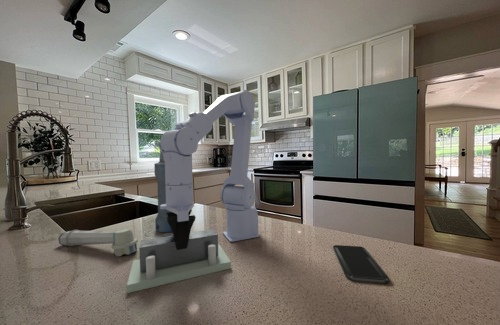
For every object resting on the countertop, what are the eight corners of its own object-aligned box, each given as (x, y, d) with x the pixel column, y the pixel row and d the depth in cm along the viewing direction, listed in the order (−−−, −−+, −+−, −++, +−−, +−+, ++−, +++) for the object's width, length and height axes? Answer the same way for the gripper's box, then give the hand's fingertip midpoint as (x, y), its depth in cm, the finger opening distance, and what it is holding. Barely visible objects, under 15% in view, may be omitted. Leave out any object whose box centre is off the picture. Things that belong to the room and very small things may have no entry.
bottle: (157, 225, 76) (154, 143, 75) (185, 222, 79) (183, 143, 78) (153, 234, 67) (150, 141, 66) (185, 230, 70) (183, 141, 69)
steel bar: (214, 248, 52) (213, 228, 51) (218, 255, 48) (217, 234, 48) (141, 263, 45) (141, 240, 45) (140, 272, 42) (139, 247, 41)
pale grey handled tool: (74, 228, 63) (139, 223, 56) (77, 249, 63) (143, 247, 56) (54, 234, 58) (123, 229, 51) (57, 257, 58) (127, 256, 51)
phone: (347, 277, 41) (332, 244, 56) (347, 282, 41) (332, 248, 56) (392, 281, 39) (364, 246, 54) (392, 286, 39) (364, 250, 54)
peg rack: (219, 249, 55) (218, 229, 55) (231, 268, 46) (230, 244, 46) (133, 266, 47) (132, 242, 47) (127, 293, 38) (125, 264, 38)
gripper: (159, 181, 51) (161, 236, 52) (159, 190, 38) (161, 263, 38) (189, 179, 54) (190, 231, 54) (198, 187, 41) (200, 255, 41)
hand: (180, 244), depth 46 cm, fingers closed on steel bar, 4 cm apart
